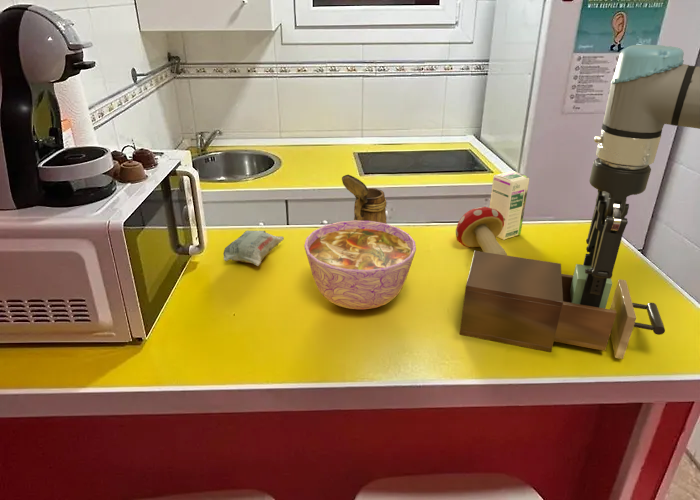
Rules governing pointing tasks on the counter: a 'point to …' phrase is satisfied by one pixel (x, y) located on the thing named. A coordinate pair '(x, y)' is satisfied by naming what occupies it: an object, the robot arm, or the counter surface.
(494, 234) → the decorative mushroom
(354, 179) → the wooden mug
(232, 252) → the packaged food
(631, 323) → the drawer
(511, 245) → the counter surface
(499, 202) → the syrup box
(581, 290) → the block
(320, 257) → the bowl of food
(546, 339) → the cabinet
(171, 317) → the counter surface
